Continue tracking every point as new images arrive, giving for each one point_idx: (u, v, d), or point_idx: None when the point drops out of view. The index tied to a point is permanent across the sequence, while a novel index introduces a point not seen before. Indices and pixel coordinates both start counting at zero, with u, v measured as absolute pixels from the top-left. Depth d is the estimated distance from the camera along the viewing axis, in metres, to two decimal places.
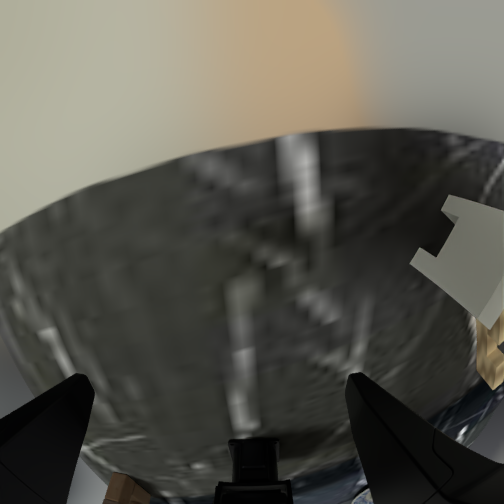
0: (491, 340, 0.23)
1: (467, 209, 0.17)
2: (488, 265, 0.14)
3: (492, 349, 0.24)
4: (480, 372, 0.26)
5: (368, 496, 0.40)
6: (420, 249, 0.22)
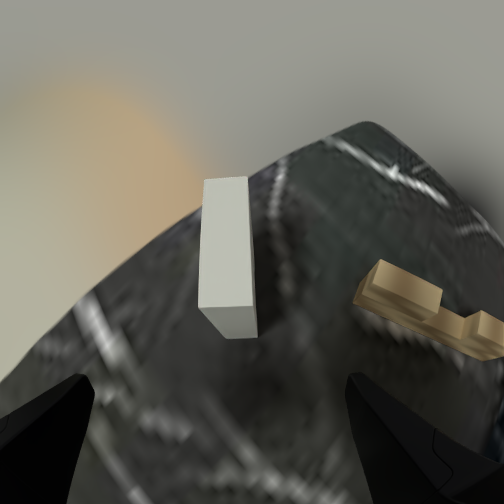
0: (441, 320, 0.19)
1: None
2: None
3: (459, 326, 0.18)
4: (486, 358, 0.18)
5: None
6: None
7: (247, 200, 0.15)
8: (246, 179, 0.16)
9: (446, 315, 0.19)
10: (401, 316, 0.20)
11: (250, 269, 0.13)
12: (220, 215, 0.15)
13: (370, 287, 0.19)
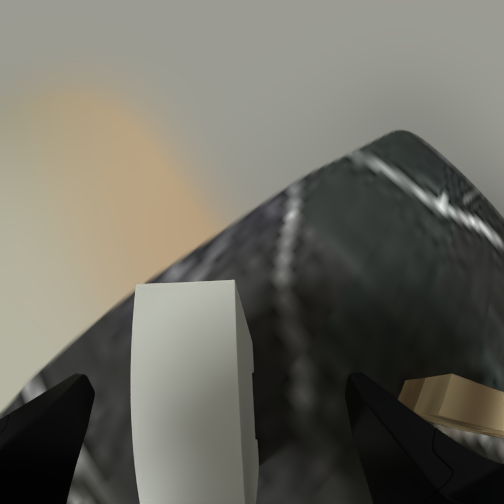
0: None
1: None
2: None
3: None
4: None
5: None
6: None
7: (234, 353, 0.06)
8: (232, 289, 0.06)
9: None
10: (455, 425, 0.10)
11: None
12: (170, 391, 0.05)
13: (431, 414, 0.09)
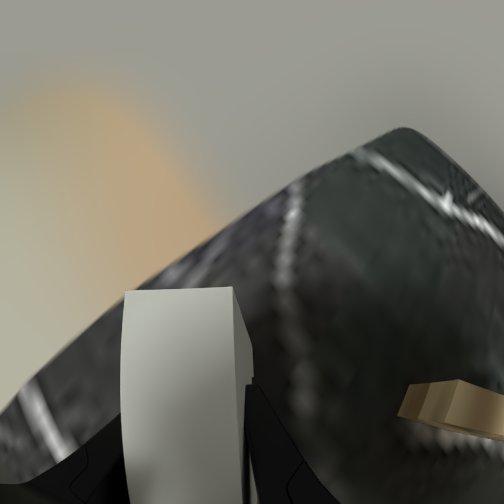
0: None
1: None
2: None
3: None
4: None
5: None
6: None
7: (232, 368, 0.05)
8: (229, 297, 0.06)
9: None
10: (460, 430, 0.10)
11: None
12: (162, 407, 0.05)
13: (436, 421, 0.09)
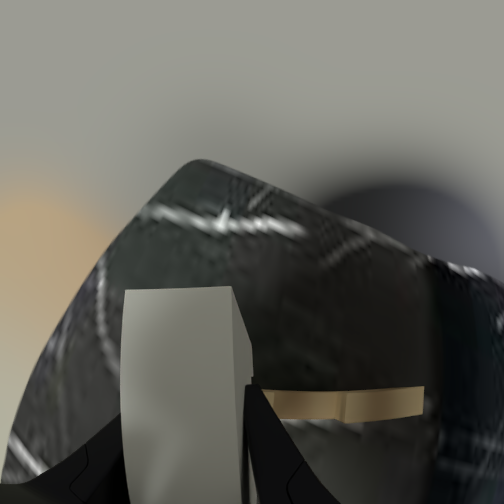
0: (299, 408, 0.17)
1: None
2: None
3: (330, 404, 0.17)
4: None
5: None
6: None
7: (231, 366, 0.05)
8: (228, 297, 0.06)
9: (306, 399, 0.17)
10: None
11: None
12: (162, 406, 0.05)
13: None
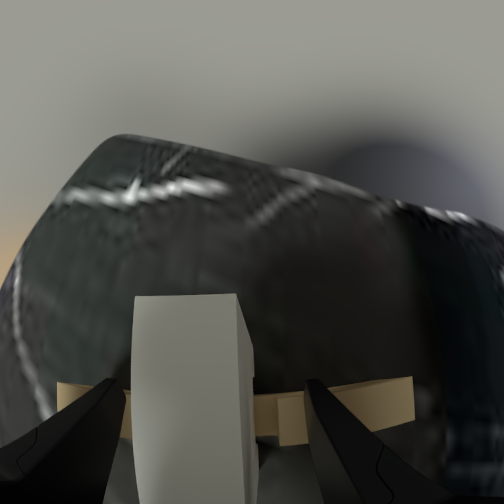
0: None
1: None
2: None
3: (266, 414, 0.11)
4: None
5: None
6: None
7: (236, 368, 0.06)
8: (233, 303, 0.06)
9: None
10: None
11: None
12: (170, 405, 0.05)
13: None
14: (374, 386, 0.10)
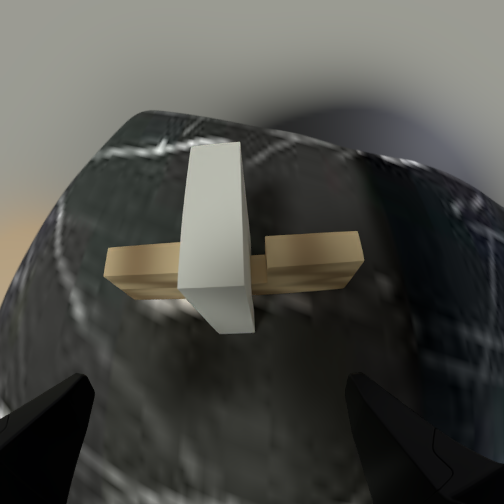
0: None
1: None
2: None
3: (259, 267, 0.19)
4: (340, 283, 0.19)
5: None
6: None
7: (239, 166, 0.13)
8: (238, 145, 0.13)
9: None
10: (176, 291, 0.19)
11: (241, 242, 0.11)
12: (207, 182, 0.12)
13: (110, 280, 0.17)
14: (329, 233, 0.17)
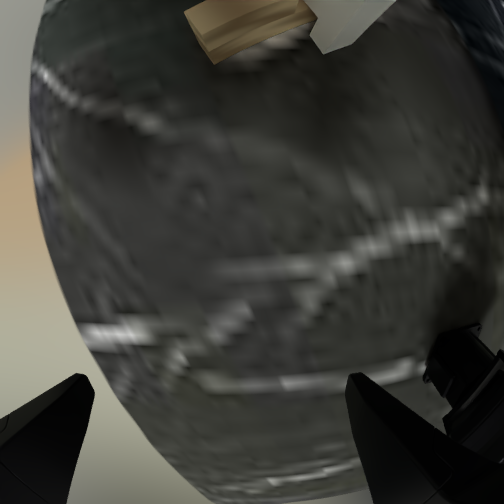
0: None
1: None
2: None
3: None
4: None
5: None
6: (311, 34, 0.14)
7: None
8: None
9: None
10: (269, 27, 0.13)
11: None
12: None
13: (206, 39, 0.11)
14: None
